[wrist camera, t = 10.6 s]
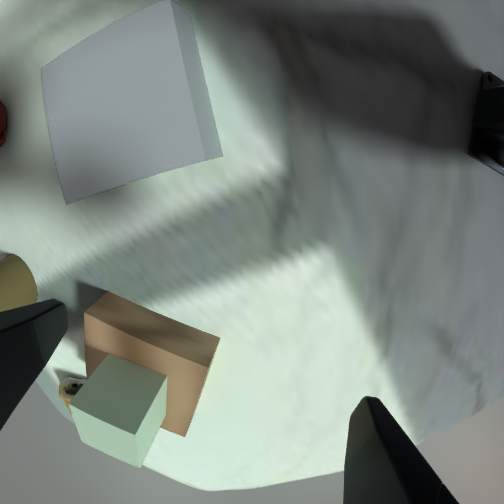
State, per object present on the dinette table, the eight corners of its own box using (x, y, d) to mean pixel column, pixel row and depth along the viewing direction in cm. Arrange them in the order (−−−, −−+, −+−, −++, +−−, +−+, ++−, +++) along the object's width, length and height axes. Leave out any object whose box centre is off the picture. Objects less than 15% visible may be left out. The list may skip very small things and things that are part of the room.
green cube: (167, 375, 21) (135, 435, 15) (166, 414, 22) (140, 468, 17) (108, 353, 21) (68, 403, 15) (113, 394, 23) (82, 441, 17)
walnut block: (221, 334, 23) (208, 367, 20) (196, 406, 27) (184, 437, 23) (110, 288, 24) (84, 312, 20) (106, 367, 27) (88, 392, 24)
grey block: (192, 19, 15) (169, -3, 12) (224, 155, 19) (206, 160, 15) (75, 73, 18) (41, 68, 14) (99, 192, 21) (66, 204, 17)
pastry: (135, 432, 31) (123, 454, 27) (95, 423, 32) (83, 442, 29) (101, 378, 28) (84, 401, 24) (62, 371, 29) (45, 390, 26)
